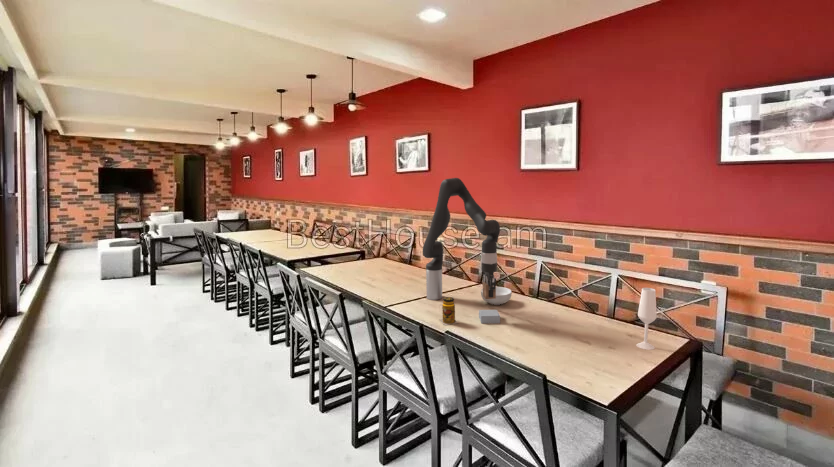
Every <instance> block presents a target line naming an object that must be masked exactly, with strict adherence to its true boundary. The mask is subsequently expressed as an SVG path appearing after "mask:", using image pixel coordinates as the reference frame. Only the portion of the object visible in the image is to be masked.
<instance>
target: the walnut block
mask: <svg viewBox="0 0 834 467" xmlns="http://www.w3.org/2000/svg"><path fill="white" fill-rule="evenodd" d="M491 287H492V286H491ZM496 287H497V285H495V289H494V290H493V297H489V289H488V285H487V283H485V282H483V281H482V289H483V297H484V298H485V299H496Z"/></svg>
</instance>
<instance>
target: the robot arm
mask: <svg viewBox="0 0 834 467" xmlns="http://www.w3.org/2000/svg"><path fill="white" fill-rule="evenodd" d="M456 196H458V197H459V198H460V199H461V200H462V202H463V205H464V210H465V213H466V214H467V215H468V217H470V219H471V220H472V221H473V223H474V224H475V227H476V229H477V231H478V233H479V234H481V235H482V236H486V239H484V240H482V241H481V260H480V262H481V266H480V268H481V270H480V271H481V272H482V278H483V280H482V283H483V282H485V283H487V285H488V289H489V297H493V290H494V289H495V285H496V284H497V278H496V277H495V275H494V273H496V272H497V271H498V255H497V252H498V251H497V250H498V249H497V247H498V246H497V244H498V240H499V236H500V231H501V227H500V226H501V225H500V223H499V221H498V220H496V219H490V220H486V218H487V213H486V212H485V210H484V209H483V208H482V207H481V206H480V205H479V204H478V203H477V202H476V201H475V199H474V198H473V196H472V194H471V192H470V191H469V189H468V188H467V187H466V185H465V183H464V182H463V181H462V180H461V179H460V178H459V177H451V178H445V179H443V180H442V181H441V182H440V186H439V190H438V197H437V200H436V201H437V202H436V205H435V209H434V213H433V215H432V220H431V224H430V227H429V230H428V233H427V235H426V237H425V241H424V243H423V245H422V255H423V257H424V258H426V259H432V260H430V262H428V263H426V265H425V274H426V275H425V277H426V278H425V279H426V281H425V282H426V299H427V300H432V301H436V300H437V301H438V300H441V299H443V263H444V247H443V244H442V242H441V241H439V240H438V238H439V237H440V236H442V234H444V233H445V231H447V229H448V227H449V224H450V220H451V213H450V210H449V207H448V204H449V201H450V198H451V197H456ZM491 286H492V287H491ZM496 286H497V285H496Z"/></svg>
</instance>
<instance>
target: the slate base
mask: <svg viewBox="0 0 834 467" xmlns="http://www.w3.org/2000/svg"><path fill="white" fill-rule="evenodd" d="M478 318H479V321H480V324H501V315H500V313H499V311H498V309H478Z"/></svg>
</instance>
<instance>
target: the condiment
mask: <svg viewBox="0 0 834 467" xmlns="http://www.w3.org/2000/svg"><path fill="white" fill-rule="evenodd" d="M442 299H443V301H442V304H441V305H442V312H441V314H442V316H441V317H442V318H439V319H438V321H440V323H442V324H443V325H445V326H446V325H455V324H459V322H458V321H456V307H455V306H456V304H455V298H454V297H453V296H452V297H450V296H445V297H442Z"/></svg>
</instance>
